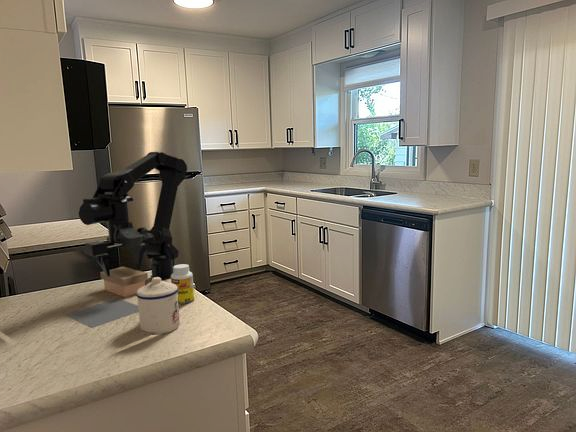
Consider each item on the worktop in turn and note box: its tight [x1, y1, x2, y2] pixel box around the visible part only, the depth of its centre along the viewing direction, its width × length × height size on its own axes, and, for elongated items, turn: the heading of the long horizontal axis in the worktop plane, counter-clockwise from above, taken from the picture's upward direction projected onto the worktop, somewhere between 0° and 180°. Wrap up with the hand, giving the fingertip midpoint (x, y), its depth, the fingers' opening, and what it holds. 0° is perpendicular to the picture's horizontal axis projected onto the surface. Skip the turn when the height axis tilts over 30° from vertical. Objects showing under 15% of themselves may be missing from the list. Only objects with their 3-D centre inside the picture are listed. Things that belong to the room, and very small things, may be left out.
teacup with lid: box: [135, 277, 181, 336], centre depth 96 cm, size 12×9×12 cm
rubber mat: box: [64, 298, 139, 329], centre depth 105 cm, size 14×14×1 cm
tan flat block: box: [99, 266, 149, 287], centre depth 121 cm, size 7×13×2 cm, turn 51°
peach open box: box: [103, 280, 146, 298], centre depth 121 cm, size 6×11×4 cm, turn 51°
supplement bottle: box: [170, 263, 195, 306], centre depth 110 cm, size 6×6×10 cm
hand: (123, 272), depth 121 cm, fingers open, 9 cm apart
